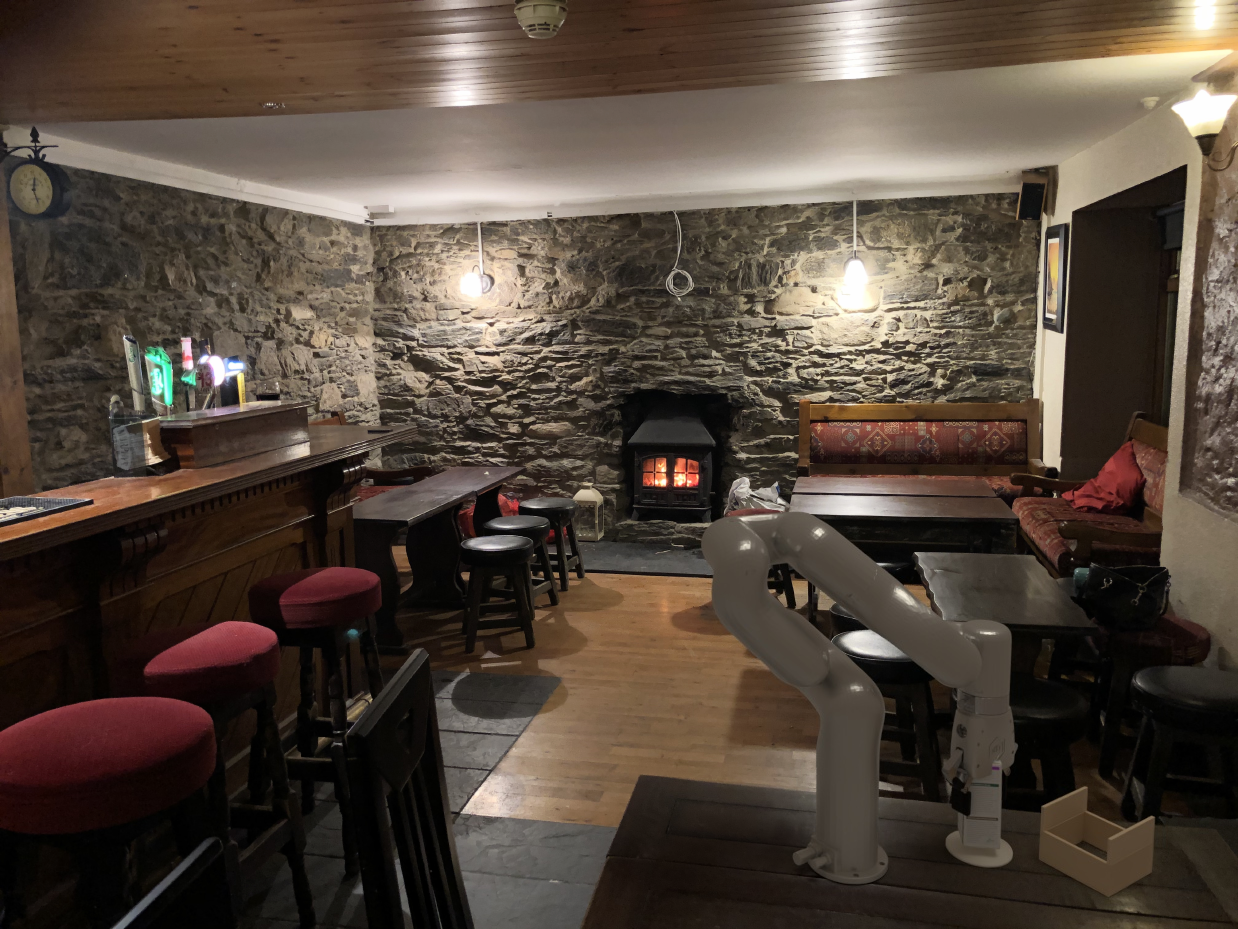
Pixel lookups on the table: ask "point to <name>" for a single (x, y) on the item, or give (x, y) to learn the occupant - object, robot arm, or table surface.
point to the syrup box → (983, 811)
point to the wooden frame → (1094, 844)
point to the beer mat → (979, 852)
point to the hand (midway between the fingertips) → (979, 803)
